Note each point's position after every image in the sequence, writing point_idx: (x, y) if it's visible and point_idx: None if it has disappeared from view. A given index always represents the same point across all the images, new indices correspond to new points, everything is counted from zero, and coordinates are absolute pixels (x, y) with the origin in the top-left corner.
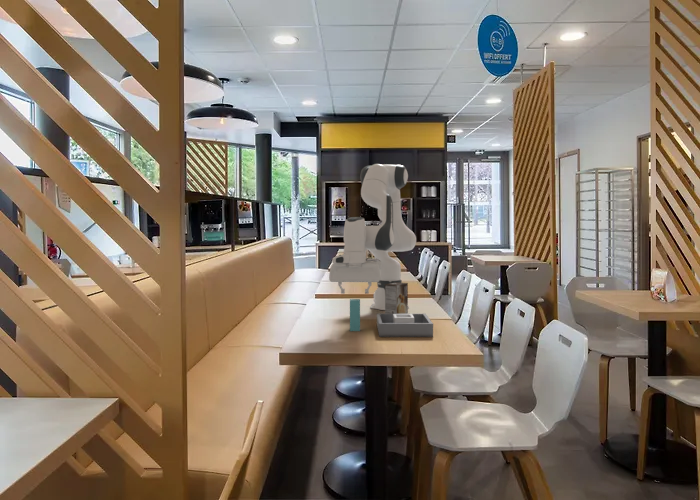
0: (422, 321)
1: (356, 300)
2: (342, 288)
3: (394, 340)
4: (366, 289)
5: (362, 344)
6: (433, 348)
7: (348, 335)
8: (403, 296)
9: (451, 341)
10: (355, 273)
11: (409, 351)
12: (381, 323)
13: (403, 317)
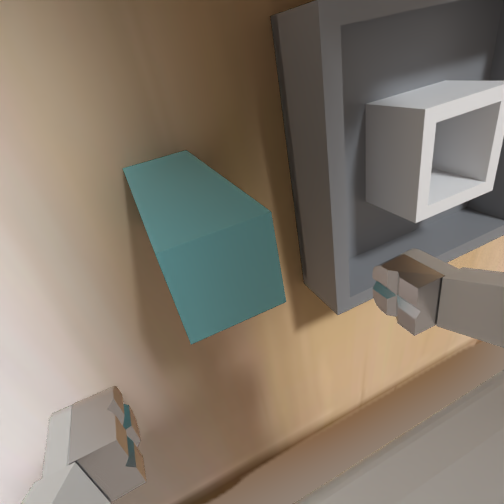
0: None
1: (251, 303)
2: (92, 492)
3: None
4: (426, 325)
5: (260, 389)
6: (433, 330)
7: (172, 311)
8: None
9: (491, 245)
10: None
11: (379, 379)
12: (346, 306)
13: (453, 201)
